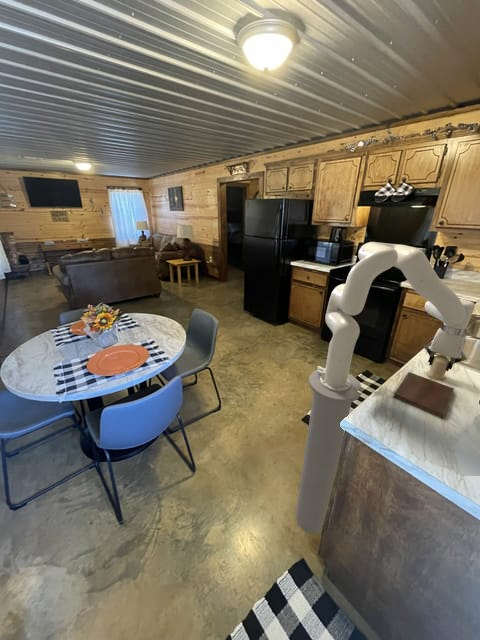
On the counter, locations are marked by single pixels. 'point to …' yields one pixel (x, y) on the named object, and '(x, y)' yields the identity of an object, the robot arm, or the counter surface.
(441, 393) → the walnut board
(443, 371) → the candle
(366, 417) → the counter surface
